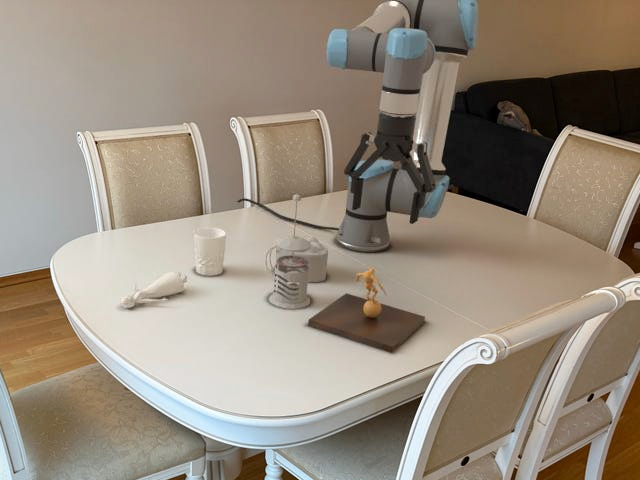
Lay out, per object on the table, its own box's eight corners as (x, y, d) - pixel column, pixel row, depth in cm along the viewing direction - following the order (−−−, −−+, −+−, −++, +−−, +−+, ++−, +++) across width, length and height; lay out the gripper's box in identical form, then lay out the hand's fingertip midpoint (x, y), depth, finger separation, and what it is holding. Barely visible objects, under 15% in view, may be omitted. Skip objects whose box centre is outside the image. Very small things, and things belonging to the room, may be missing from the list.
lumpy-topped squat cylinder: (294, 261, 186) (296, 229, 181) (334, 274, 179) (338, 242, 175) (269, 271, 178) (271, 239, 174) (311, 286, 172) (314, 253, 167)
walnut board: (308, 325, 153) (308, 319, 152) (345, 298, 167) (346, 293, 166) (392, 352, 144) (393, 346, 144) (424, 322, 158) (425, 316, 157)
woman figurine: (199, 276, 161) (137, 303, 149) (200, 294, 163) (139, 321, 151) (166, 262, 167) (103, 286, 155) (167, 279, 169) (106, 304, 158)
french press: (296, 312, 158) (305, 204, 146) (254, 298, 163) (258, 192, 151) (318, 298, 166) (327, 194, 153) (276, 285, 171) (283, 184, 158)
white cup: (230, 269, 178) (231, 231, 173) (215, 279, 172) (215, 240, 167) (203, 262, 181) (203, 225, 176) (187, 272, 174) (187, 234, 169)
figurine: (391, 321, 154) (399, 270, 148) (373, 328, 150) (380, 276, 144) (363, 307, 159) (369, 258, 153) (345, 314, 155) (350, 263, 150)
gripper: (463, 120, 139) (444, 223, 150) (350, 101, 149) (341, 199, 160) (450, 126, 133) (432, 232, 144) (334, 106, 144) (325, 207, 154)
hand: (384, 215), depth 152 cm, fingers open, 13 cm apart
